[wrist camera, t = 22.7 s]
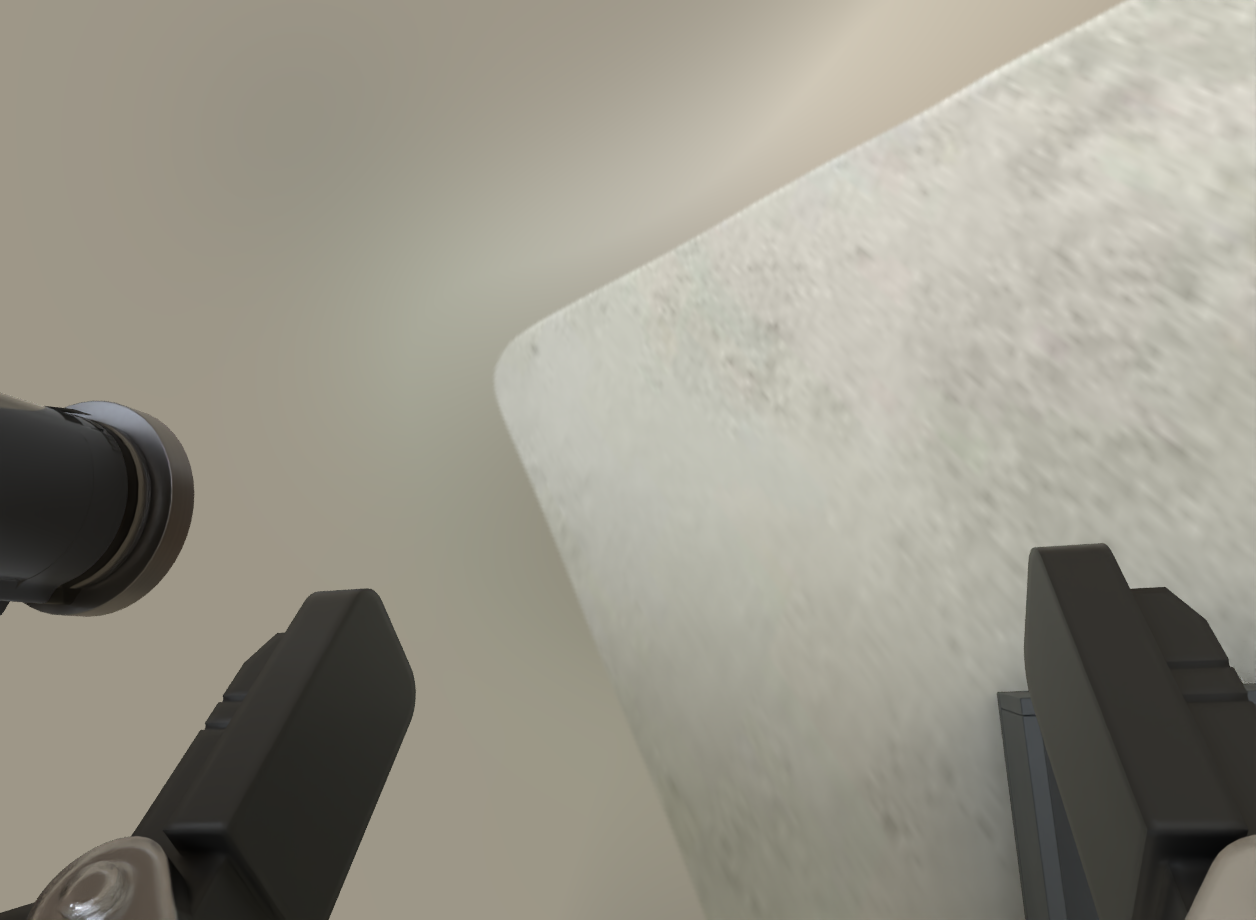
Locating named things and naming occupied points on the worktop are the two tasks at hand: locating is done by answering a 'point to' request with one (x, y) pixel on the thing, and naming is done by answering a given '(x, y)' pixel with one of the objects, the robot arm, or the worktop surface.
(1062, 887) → the bin
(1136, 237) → the worktop surface
